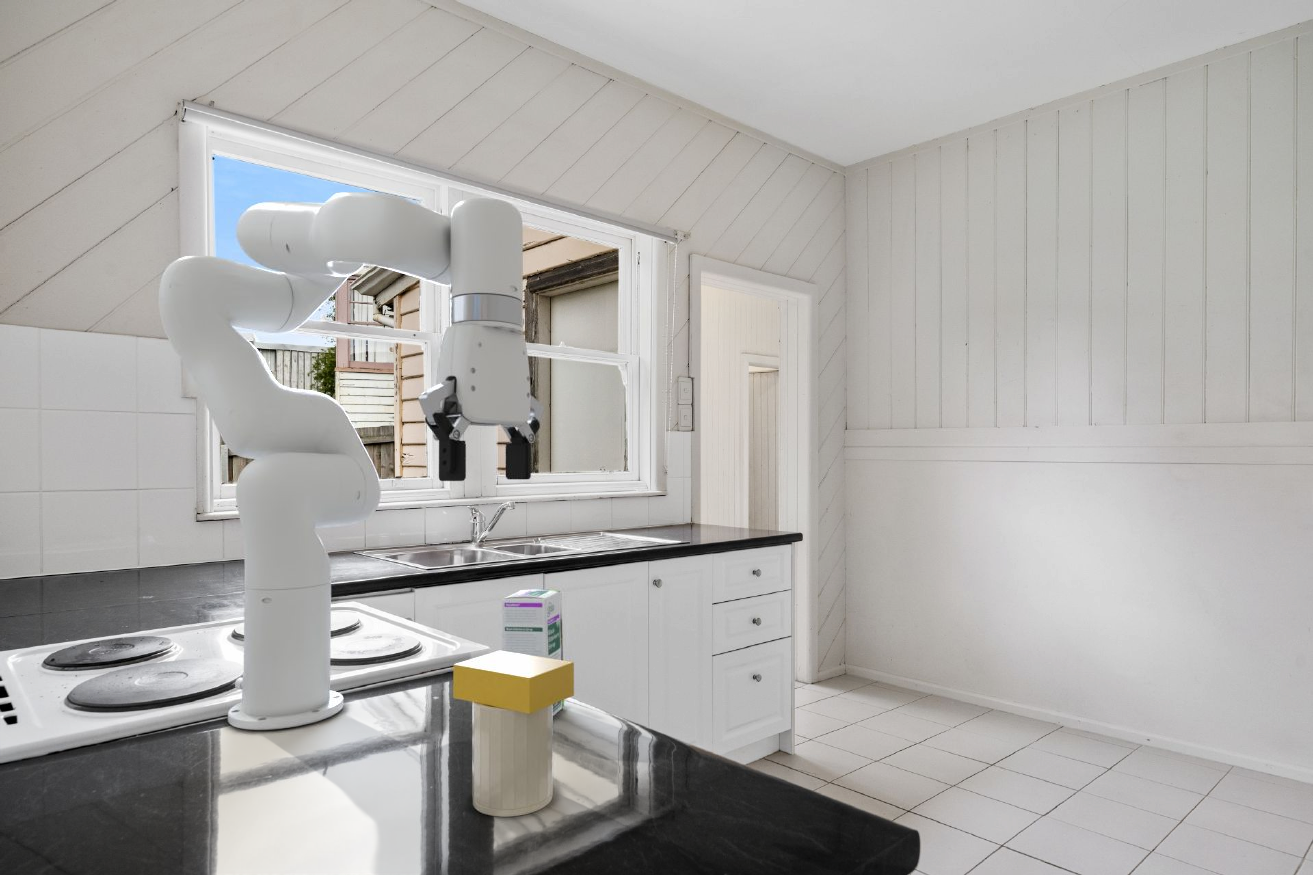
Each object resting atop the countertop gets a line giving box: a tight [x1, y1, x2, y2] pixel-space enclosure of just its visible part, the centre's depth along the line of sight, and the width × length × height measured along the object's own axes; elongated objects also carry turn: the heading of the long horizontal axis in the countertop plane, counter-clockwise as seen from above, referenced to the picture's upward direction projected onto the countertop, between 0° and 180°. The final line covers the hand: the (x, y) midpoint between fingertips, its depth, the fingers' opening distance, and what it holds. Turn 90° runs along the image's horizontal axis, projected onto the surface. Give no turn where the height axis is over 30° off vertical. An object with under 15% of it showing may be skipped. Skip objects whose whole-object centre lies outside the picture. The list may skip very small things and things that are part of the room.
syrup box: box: [500, 588, 565, 717], centre depth 91 cm, size 6×6×14 cm
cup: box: [471, 702, 554, 818], centre depth 68 cm, size 7×7×9 cm
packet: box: [452, 650, 575, 714], centre depth 68 cm, size 9×6×3 cm, turn 59°
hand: (486, 480), depth 80 cm, fingers open, 9 cm apart
